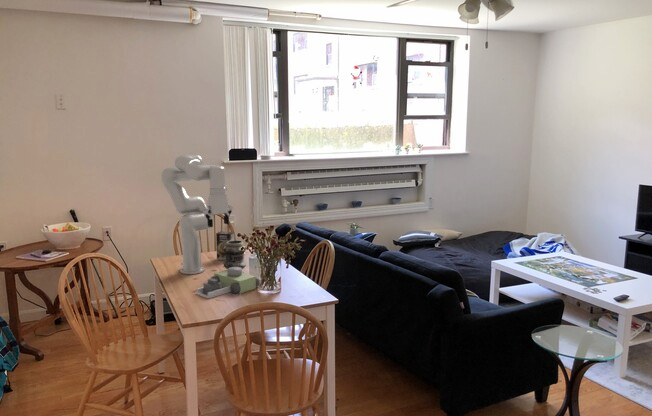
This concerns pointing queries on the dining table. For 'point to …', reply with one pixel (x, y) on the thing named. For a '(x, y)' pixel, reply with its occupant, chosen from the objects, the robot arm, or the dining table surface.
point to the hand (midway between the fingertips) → (218, 225)
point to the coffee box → (223, 243)
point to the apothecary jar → (234, 254)
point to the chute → (211, 285)
